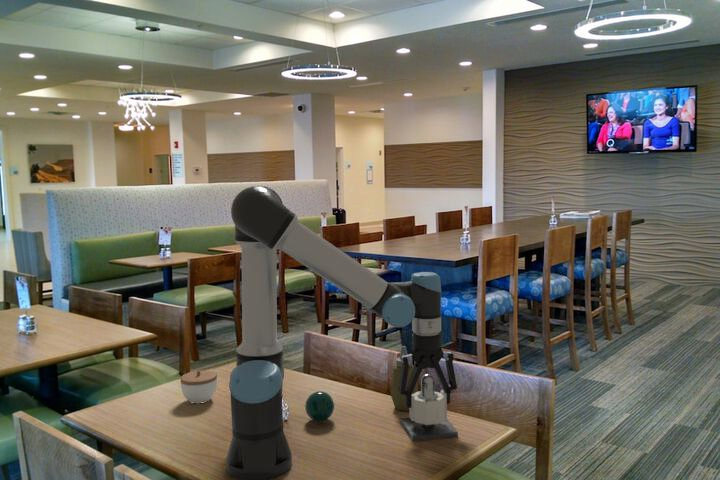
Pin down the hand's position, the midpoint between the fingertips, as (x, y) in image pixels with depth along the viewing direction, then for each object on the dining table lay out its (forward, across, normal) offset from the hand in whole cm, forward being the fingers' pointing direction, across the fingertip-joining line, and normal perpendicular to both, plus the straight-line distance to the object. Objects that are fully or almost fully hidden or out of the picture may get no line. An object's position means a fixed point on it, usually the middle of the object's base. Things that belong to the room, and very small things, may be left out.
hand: (428, 417), depth 156 cm
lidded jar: (+4, -61, +37) cm, 71 cm away
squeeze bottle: (+4, -2, +16) cm, 17 cm away
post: (+3, 0, 0) cm, 3 cm away
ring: (0, 0, 0) cm, 0 cm away
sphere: (+4, -27, +13) cm, 30 cm away
